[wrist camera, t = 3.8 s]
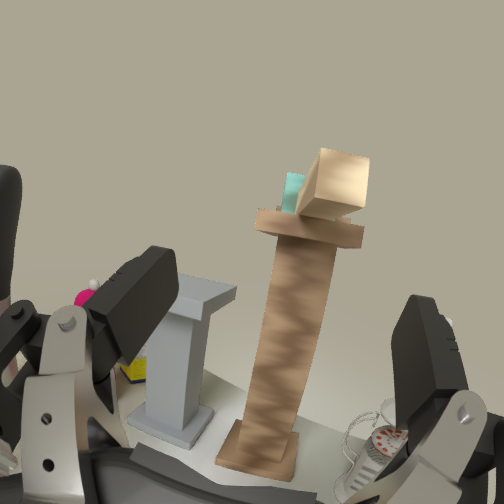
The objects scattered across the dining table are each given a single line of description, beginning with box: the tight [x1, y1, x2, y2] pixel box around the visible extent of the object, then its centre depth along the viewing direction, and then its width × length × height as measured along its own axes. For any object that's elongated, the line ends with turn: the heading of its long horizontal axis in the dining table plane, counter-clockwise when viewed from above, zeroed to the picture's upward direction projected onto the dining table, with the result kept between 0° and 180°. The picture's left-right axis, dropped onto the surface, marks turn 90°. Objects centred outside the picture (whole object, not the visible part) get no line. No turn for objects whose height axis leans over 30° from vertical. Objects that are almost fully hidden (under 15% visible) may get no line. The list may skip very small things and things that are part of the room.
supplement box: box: [120, 340, 148, 384], centre depth 47 cm, size 6×6×11 cm
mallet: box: [281, 148, 370, 221], centre depth 25 cm, size 6×21×5 cm, turn 176°
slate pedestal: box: [127, 273, 237, 450], centre depth 36 cm, size 10×13×22 cm
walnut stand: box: [215, 206, 364, 482], centre depth 32 cm, size 10×13×34 cm
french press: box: [334, 317, 453, 504], centre depth 23 cm, size 10×12×25 cm
